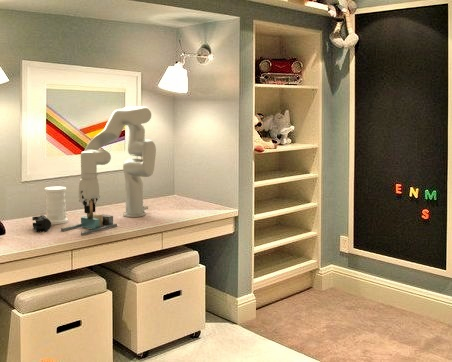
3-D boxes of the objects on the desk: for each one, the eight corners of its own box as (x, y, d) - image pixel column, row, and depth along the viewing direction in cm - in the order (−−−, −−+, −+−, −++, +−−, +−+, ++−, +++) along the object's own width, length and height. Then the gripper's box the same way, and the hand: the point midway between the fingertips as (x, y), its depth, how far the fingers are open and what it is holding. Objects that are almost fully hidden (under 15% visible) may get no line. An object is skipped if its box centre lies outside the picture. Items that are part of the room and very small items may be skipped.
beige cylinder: (97, 224, 290) (97, 213, 289) (104, 226, 288) (104, 214, 287) (90, 226, 286) (90, 215, 285) (97, 228, 283) (97, 216, 283)
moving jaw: (85, 225, 287) (84, 198, 284) (99, 228, 281) (99, 201, 279) (81, 227, 284) (80, 199, 282) (95, 229, 279) (94, 202, 277)
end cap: (51, 231, 276) (51, 217, 275) (36, 233, 272) (36, 219, 271) (47, 227, 285) (46, 214, 284) (32, 228, 281) (32, 215, 280)
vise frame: (95, 222, 296) (95, 212, 295) (117, 226, 288) (117, 216, 287) (61, 230, 277) (60, 220, 276) (83, 235, 269) (83, 225, 268)
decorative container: (72, 220, 299) (71, 187, 296) (57, 225, 288) (56, 190, 286) (55, 218, 304) (54, 185, 301) (40, 222, 293) (38, 188, 290)
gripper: (95, 173, 287) (96, 209, 290) (71, 177, 274) (72, 214, 277) (106, 175, 283) (107, 210, 286) (81, 178, 270) (82, 216, 273)
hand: (89, 212), depth 281 cm, fingers closed on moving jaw, 3 cm apart
